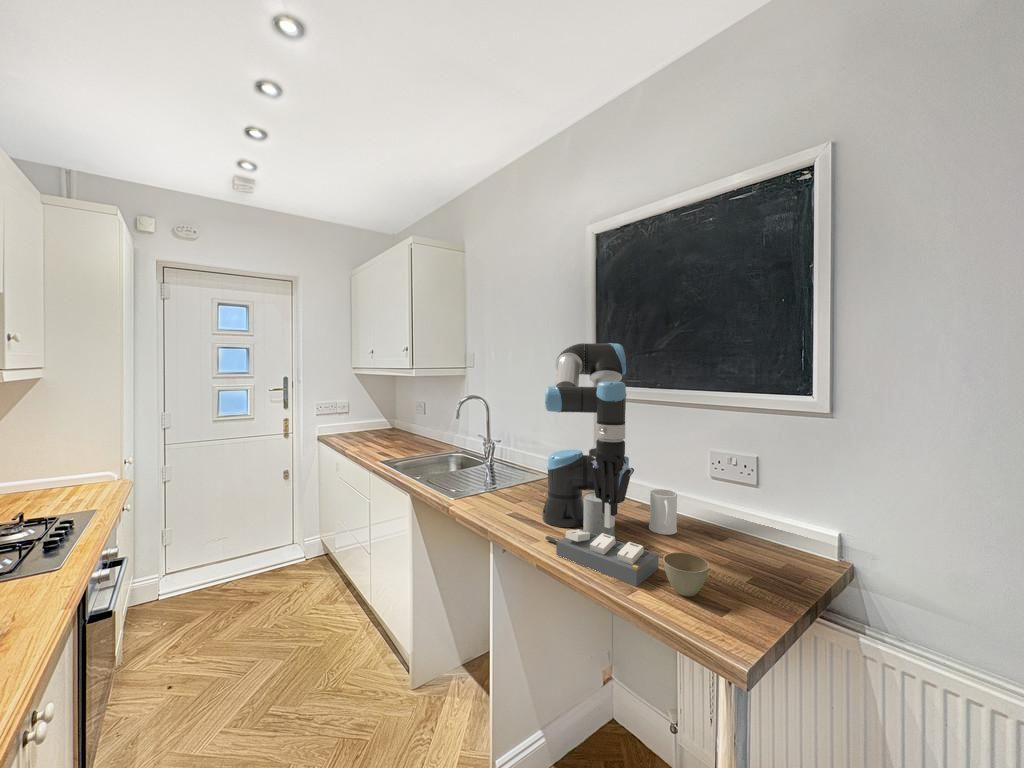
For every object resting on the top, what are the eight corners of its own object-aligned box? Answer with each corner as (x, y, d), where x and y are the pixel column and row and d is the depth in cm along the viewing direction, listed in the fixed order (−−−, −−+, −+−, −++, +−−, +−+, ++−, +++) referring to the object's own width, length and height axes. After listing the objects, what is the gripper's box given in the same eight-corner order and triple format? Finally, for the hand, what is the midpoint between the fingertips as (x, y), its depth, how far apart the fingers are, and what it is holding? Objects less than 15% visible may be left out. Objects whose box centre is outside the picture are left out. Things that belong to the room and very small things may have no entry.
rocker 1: (565, 537, 120) (566, 530, 120) (577, 535, 125) (578, 529, 125) (577, 541, 118) (578, 534, 118) (589, 539, 122) (590, 532, 122)
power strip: (532, 546, 127) (532, 532, 127) (558, 534, 136) (558, 521, 135) (636, 586, 104) (636, 569, 104) (658, 569, 113) (658, 553, 113)
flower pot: (655, 581, 107) (656, 552, 107) (694, 579, 108) (695, 551, 108) (674, 603, 97) (674, 572, 97) (717, 601, 98) (717, 570, 98)
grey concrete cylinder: (616, 532, 138) (616, 493, 137) (612, 544, 129) (613, 503, 128) (585, 528, 141) (586, 490, 140) (580, 539, 132) (580, 499, 131)
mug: (679, 540, 131) (680, 501, 131) (650, 537, 134) (650, 498, 133) (675, 526, 143) (676, 489, 142) (648, 523, 145) (649, 487, 144)
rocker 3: (617, 559, 110) (617, 553, 109) (629, 547, 114) (628, 541, 113) (632, 564, 107) (631, 558, 107) (643, 552, 111) (643, 545, 111)
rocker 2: (590, 550, 115) (589, 543, 115) (602, 539, 119) (602, 532, 119) (603, 554, 112) (603, 548, 112) (615, 543, 117) (615, 536, 116)
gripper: (582, 438, 118) (581, 523, 119) (625, 444, 109) (624, 536, 110) (597, 434, 124) (596, 516, 125) (639, 440, 115) (638, 528, 116)
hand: (609, 526), depth 118 cm, fingers closed
